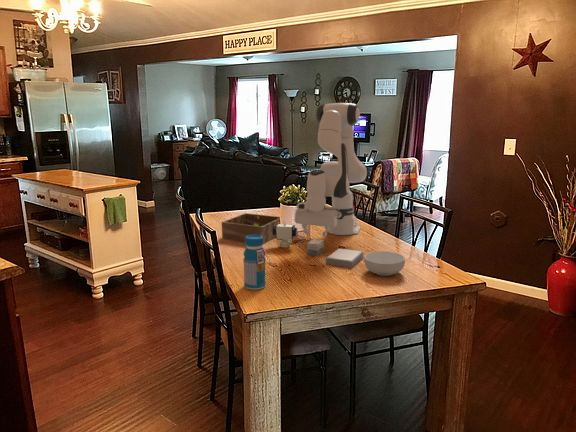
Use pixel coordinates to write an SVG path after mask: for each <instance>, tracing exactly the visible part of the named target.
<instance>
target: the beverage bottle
mask: <svg viewBox="0 0 576 432" xmlns="http://www.w3.org/2000/svg"><path fill="white" fill-rule="evenodd" d="M244 244H245V246H246V247H245V249H244V252H243V256H244V258H243V260H242V261H243V278H244V280H243V281H244V282H243V283H244V288H246V289H247V290H251V291H258V290H262V289H263V288H265V287H266V257H265V256H266V251H265V249H264V247H263V245H264V244H263V237H262V236H261V235H248V236H246V237H245V242H244Z"/></svg>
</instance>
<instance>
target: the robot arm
mask: <svg viewBox="0 0 576 432" xmlns="http://www.w3.org/2000/svg"><path fill="white" fill-rule="evenodd" d="M360 116H361V113H360V107H359V106H358V105H357V104H356V103H353V102H350V103H347V102H337V103H336V102H334V103H333V102H332V103H321V104H320V105H318V107H317V108H316V112H315V118H316V122H318V123H319V125H318V132H317V144H318V146H319V147H320V148H321V149H323V151H325V152H327V153H330V154H332V155H333V156H335V157H336V158H337V161H335V160H332V161H325V162H323V163H322V164H321V165H320V169H313V170H311V171H309V172H308V174H307V181H306V192H307V197H306V201H303V202H300V203H299V202H298V203H297V204H296V210H295V212H294V223H296V224H298V225H299V224H300V225H301V227H302V229H303V234H309V229H308V228H307V225H309V226H316V227H324V229H325V230H324V231H323V232H322V237H327V236H328V233H329V234H331V235H335V236H349V235H358V234H359V233H360V231H361V228H362V227H361V226H360V225H358V224H357V223H358V220H357V219H358V218H357V217H356V216H355V214H354V212H355V211H354V209H355V206H353V200H354V198H353V197H354V195H353V192H352V191H351V190H350V189H351V188H350V184H357V183H362V182H364V181H365V179H366V178H367V175H368V169H367V167H366V165H365V164H364V163H362V162H361V160H360V159H359V158H358V157H357V154H356V153H355V145H354V144H355V143H354V128H353V127H354V125H356V124H357V122H358V121H359V120H360ZM326 197H331V206H326V200H327V198H326Z"/></svg>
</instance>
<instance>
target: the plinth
mask: <svg viewBox="0 0 576 432" xmlns="http://www.w3.org/2000/svg"><path fill="white" fill-rule="evenodd" d="M363 258H364V252H363V251H361V250H354V249H347V248H346V249H345V248H338V249H336V250H335V251H333V252H332V253H331V254H330V255H328V256H327V257H326V259H325V264H326V265H331V266H338V267H345V268H349V269H352V268H353V267H354V266H356V265H357V264H358V263H359V262H360V261H361V260H362V259H363Z"/></svg>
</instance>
